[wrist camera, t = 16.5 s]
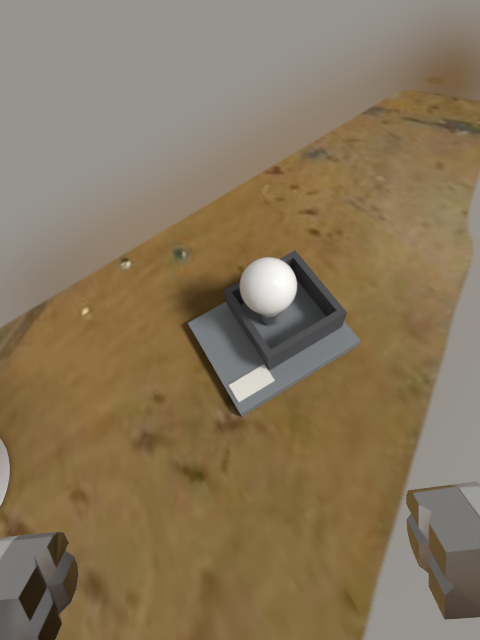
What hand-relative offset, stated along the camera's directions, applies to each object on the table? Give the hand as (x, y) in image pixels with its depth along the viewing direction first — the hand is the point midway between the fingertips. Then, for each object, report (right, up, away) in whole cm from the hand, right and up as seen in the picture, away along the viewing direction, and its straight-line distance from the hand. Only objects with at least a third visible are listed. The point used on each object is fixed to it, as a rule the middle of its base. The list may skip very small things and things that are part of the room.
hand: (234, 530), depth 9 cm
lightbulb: (+4, +5, +40) cm, 41 cm away
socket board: (+4, +3, +40) cm, 41 cm away
